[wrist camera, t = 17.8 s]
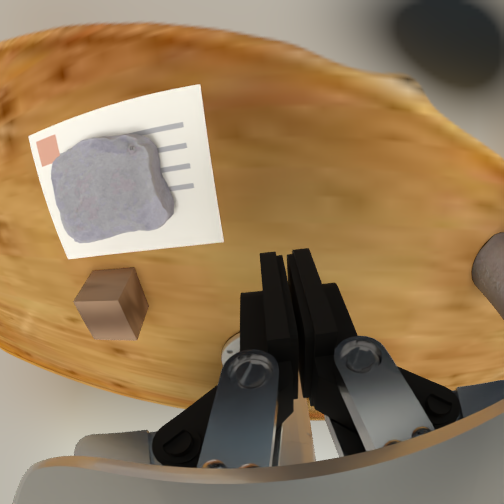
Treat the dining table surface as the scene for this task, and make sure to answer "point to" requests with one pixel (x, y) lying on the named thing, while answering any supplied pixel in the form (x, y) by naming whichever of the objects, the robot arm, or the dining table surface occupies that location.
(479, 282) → the pillar candle
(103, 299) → the walnut cube
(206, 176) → the letter
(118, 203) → the stone block
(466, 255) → the dining table surface
